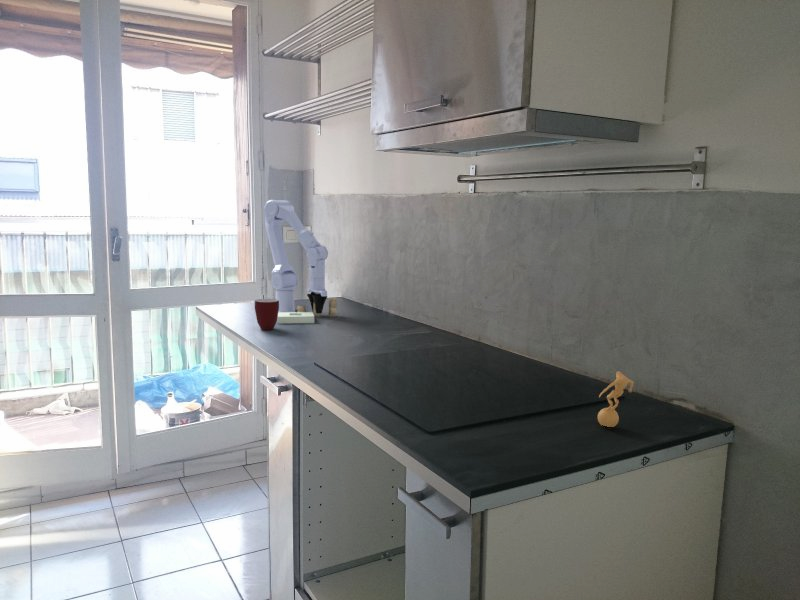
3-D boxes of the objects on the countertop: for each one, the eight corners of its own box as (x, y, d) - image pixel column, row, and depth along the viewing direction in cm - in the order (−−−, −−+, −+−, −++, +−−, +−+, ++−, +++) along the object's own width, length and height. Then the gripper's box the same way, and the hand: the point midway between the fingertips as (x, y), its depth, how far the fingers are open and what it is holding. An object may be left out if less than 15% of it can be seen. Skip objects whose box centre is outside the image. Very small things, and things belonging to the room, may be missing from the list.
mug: (250, 326, 212) (250, 298, 210) (272, 325, 215) (272, 297, 214) (258, 332, 202) (258, 302, 201) (282, 330, 206) (282, 301, 205)
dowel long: (328, 315, 237) (328, 297, 236) (336, 315, 237) (336, 297, 236) (329, 316, 234) (329, 298, 233) (336, 316, 235) (337, 298, 233)
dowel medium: (312, 315, 236) (313, 301, 235) (320, 315, 236) (320, 301, 235) (313, 316, 233) (313, 302, 232) (321, 316, 233) (321, 302, 232)
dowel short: (297, 315, 234) (297, 305, 234) (305, 315, 235) (305, 305, 234) (297, 317, 232) (297, 306, 231) (305, 317, 232) (305, 306, 232)
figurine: (615, 421, 125) (619, 364, 123) (638, 431, 119) (643, 371, 117) (584, 426, 121) (588, 368, 119) (606, 437, 116) (611, 376, 114)
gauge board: (277, 319, 227) (277, 312, 226) (312, 318, 229) (312, 312, 229) (277, 323, 218) (277, 316, 218) (314, 323, 221) (314, 316, 220)
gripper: (300, 275, 236) (300, 310, 238) (314, 280, 224) (314, 316, 226) (317, 275, 240) (317, 309, 242) (332, 279, 228) (332, 315, 230)
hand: (317, 312), depth 234 cm, fingers closed on dowel medium, 3 cm apart
